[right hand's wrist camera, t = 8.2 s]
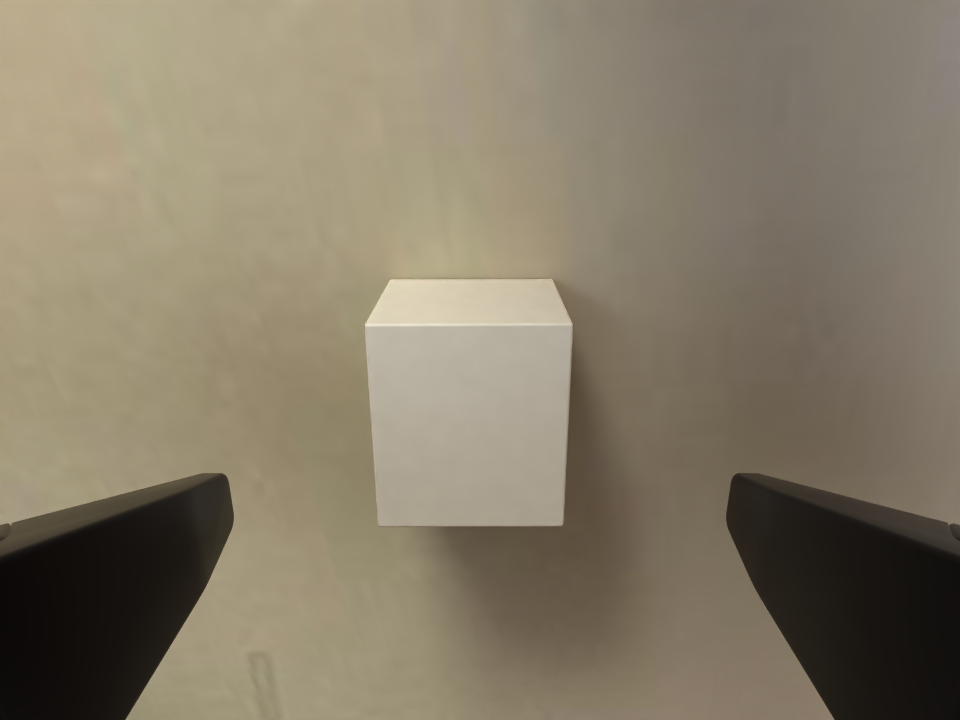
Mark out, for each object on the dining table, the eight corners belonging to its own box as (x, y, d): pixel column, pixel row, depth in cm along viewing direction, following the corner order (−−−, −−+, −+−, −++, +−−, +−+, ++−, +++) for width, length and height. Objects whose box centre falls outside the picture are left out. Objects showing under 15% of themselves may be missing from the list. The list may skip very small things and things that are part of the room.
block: (398, 445, 19) (377, 527, 15) (389, 278, 18) (363, 323, 14) (546, 445, 19) (563, 527, 15) (553, 278, 17) (573, 323, 14)
